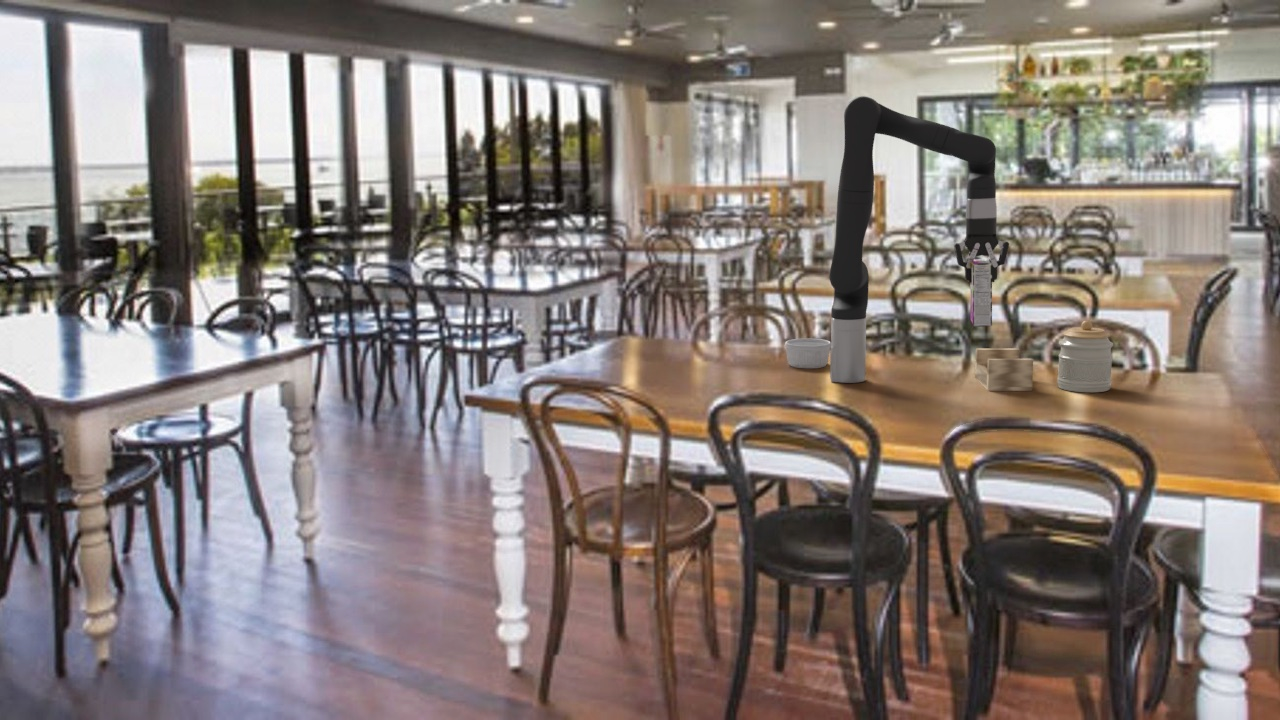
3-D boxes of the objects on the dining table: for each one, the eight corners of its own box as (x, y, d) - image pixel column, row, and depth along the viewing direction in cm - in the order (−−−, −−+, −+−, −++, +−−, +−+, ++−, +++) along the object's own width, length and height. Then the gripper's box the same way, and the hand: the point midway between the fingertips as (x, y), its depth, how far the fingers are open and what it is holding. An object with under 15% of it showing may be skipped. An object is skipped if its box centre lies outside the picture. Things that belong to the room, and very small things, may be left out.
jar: (1070, 381, 304) (1073, 315, 301) (1119, 387, 295) (1123, 319, 292) (1048, 389, 295) (1050, 321, 292) (1097, 395, 286) (1101, 325, 283)
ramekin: (833, 369, 329) (834, 345, 327) (787, 369, 329) (787, 346, 328) (827, 360, 342) (827, 337, 340) (782, 361, 342) (782, 338, 341)
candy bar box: (969, 321, 304) (969, 259, 301) (988, 320, 303) (989, 258, 300) (972, 326, 293) (972, 263, 291) (992, 326, 292) (993, 262, 290)
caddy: (988, 390, 294) (989, 360, 293) (974, 377, 312) (975, 348, 310) (1032, 390, 293) (1033, 360, 292) (1016, 377, 311) (1017, 348, 309)
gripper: (954, 218, 291) (954, 284, 294) (1013, 215, 289) (1012, 282, 292) (950, 216, 298) (950, 281, 301) (1007, 214, 296) (1006, 279, 299)
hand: (981, 281), depth 296 cm, fingers closed on candy bar box, 5 cm apart
